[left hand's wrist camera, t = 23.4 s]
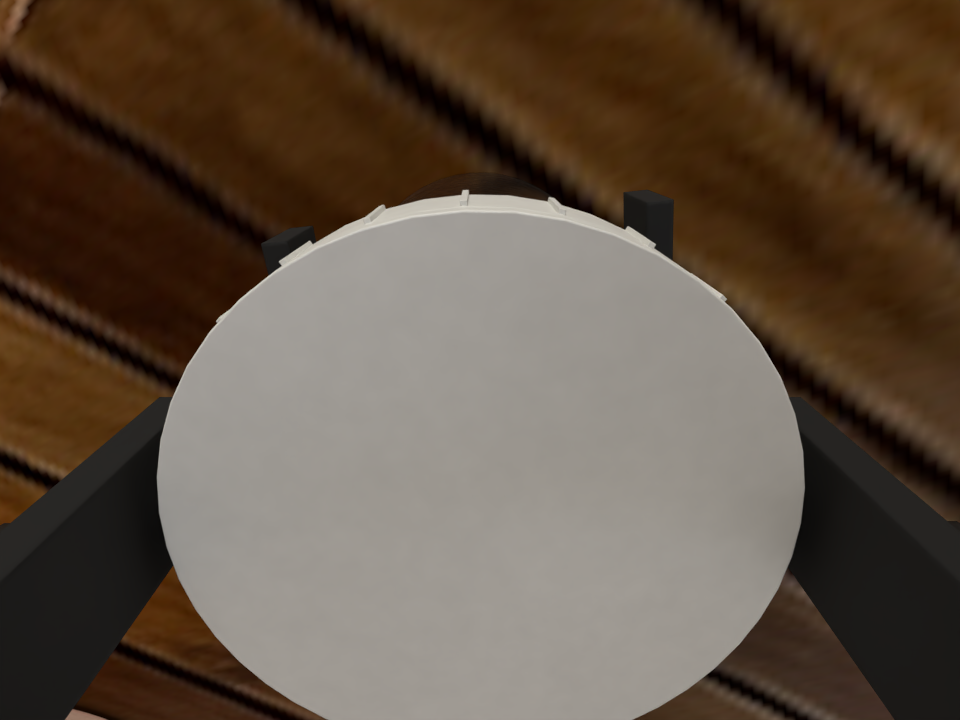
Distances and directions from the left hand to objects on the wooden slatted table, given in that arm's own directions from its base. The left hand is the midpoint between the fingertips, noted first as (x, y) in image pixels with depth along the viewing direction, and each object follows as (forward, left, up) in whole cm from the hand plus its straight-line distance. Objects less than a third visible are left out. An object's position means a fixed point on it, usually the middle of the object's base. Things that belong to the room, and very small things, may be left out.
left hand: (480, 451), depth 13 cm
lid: (0, 0, +2) cm, 2 cm away
